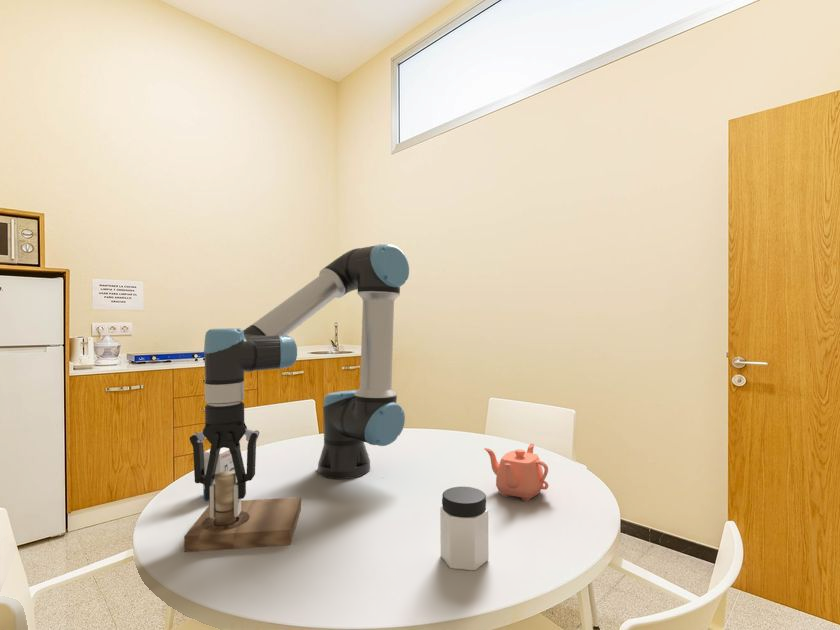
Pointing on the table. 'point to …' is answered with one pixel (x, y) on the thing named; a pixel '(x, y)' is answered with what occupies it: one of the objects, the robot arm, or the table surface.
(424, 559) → the table surface
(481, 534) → the jar
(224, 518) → the dowel
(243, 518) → the board
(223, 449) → the ink box
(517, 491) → the teapot
